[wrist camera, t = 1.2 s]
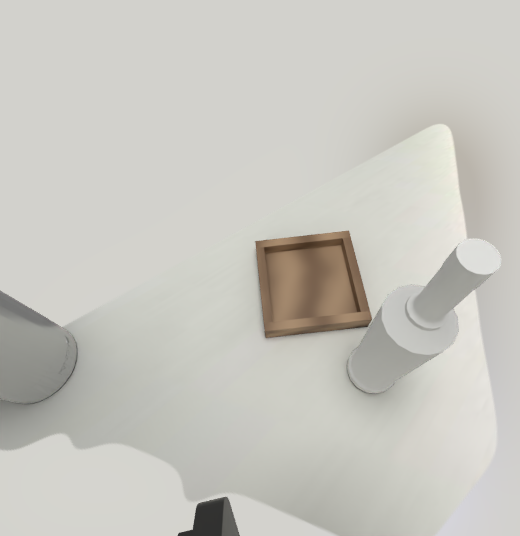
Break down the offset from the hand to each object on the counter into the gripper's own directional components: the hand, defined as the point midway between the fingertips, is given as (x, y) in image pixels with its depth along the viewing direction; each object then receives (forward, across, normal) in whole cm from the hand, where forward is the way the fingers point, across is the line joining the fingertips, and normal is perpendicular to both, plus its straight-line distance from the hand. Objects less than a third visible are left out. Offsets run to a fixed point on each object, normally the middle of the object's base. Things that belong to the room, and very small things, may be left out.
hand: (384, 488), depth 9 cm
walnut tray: (+35, -3, +5) cm, 36 cm away
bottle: (+28, -7, +14) cm, 32 cm away
